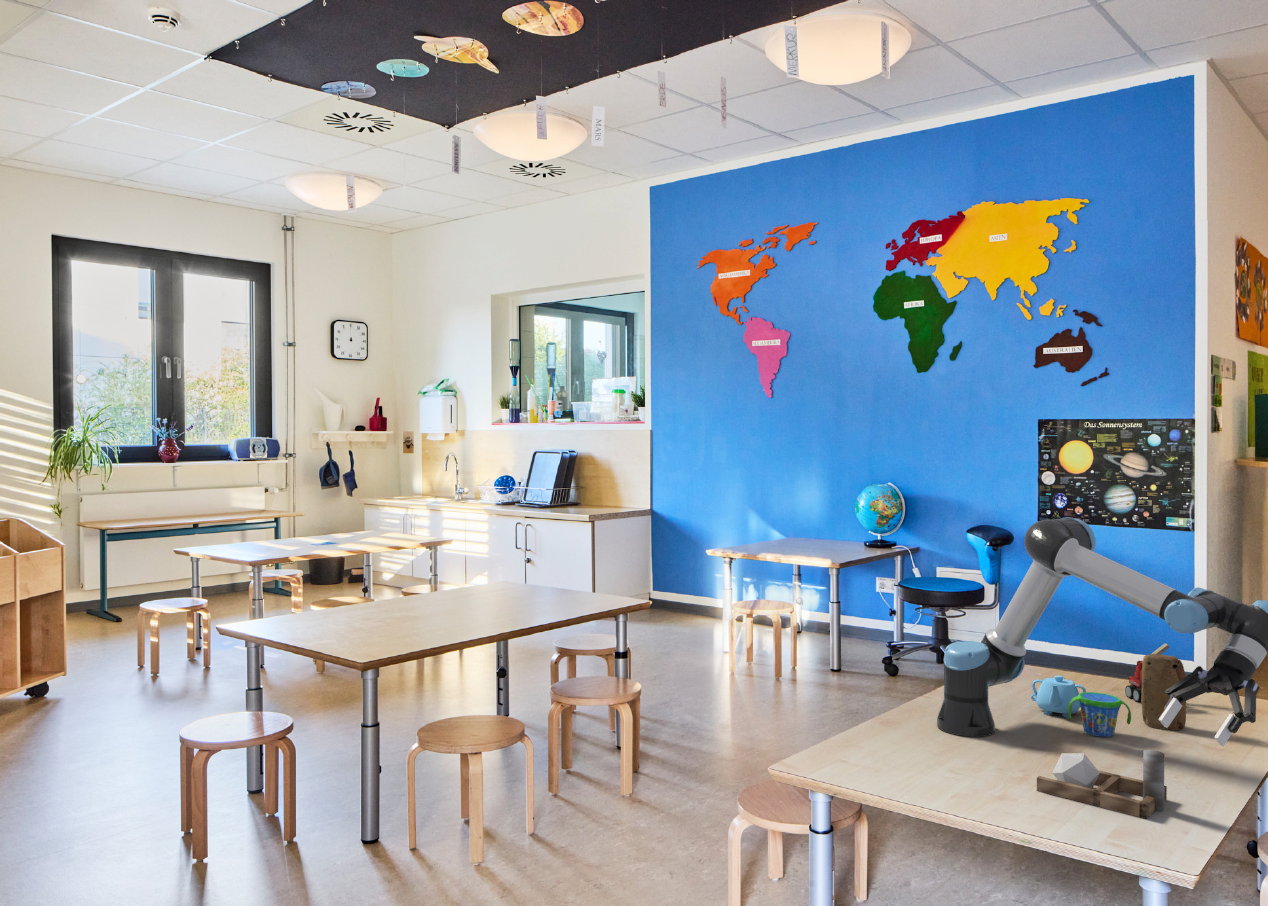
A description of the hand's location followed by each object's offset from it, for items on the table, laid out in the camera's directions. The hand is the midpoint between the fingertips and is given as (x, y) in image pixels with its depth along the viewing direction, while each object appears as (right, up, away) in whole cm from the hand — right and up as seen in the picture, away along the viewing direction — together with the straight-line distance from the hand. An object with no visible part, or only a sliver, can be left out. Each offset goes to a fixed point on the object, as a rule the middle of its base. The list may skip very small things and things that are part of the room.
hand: (1189, 732), depth 205 cm
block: (+27, -16, +57) cm, 65 cm away
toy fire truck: (+38, -16, +82) cm, 92 cm away
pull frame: (-17, -15, +3) cm, 23 cm away
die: (-22, -16, +7) cm, 28 cm away
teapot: (+2, -15, +69) cm, 71 cm away
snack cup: (+5, -15, +50) cm, 52 cm away
